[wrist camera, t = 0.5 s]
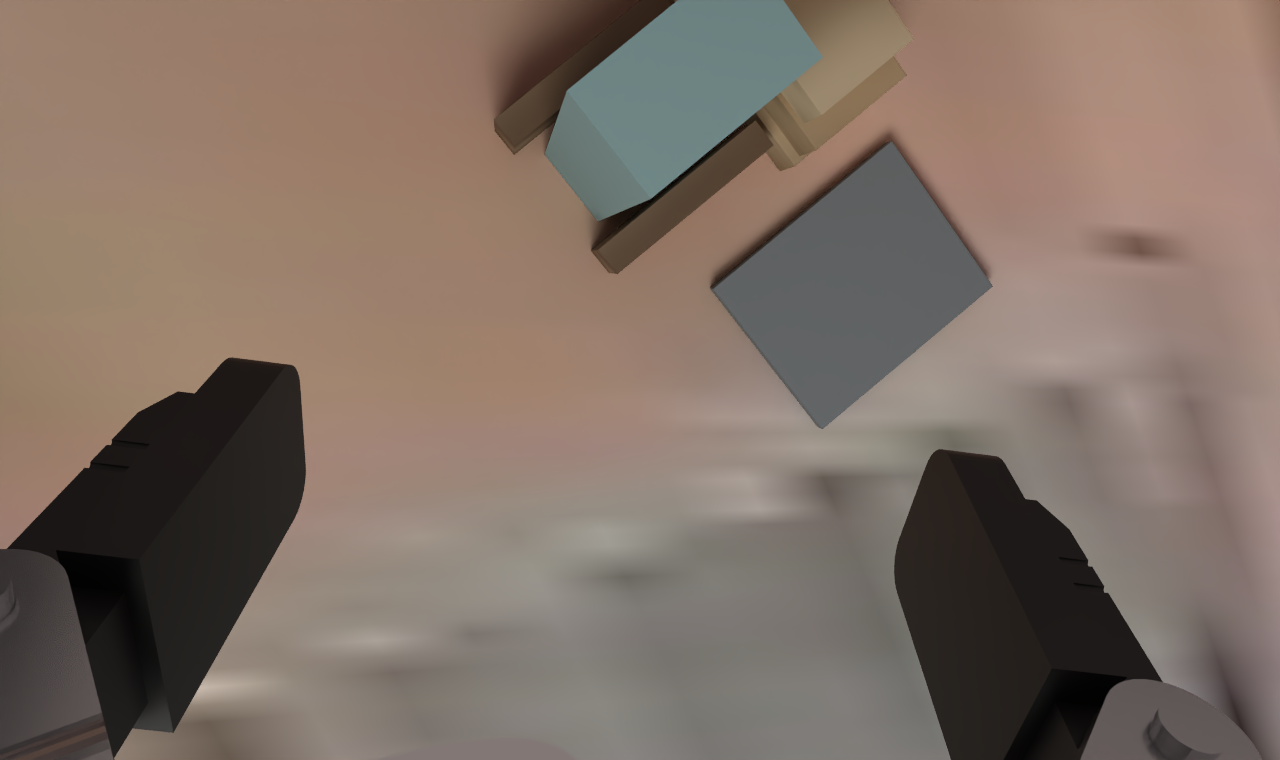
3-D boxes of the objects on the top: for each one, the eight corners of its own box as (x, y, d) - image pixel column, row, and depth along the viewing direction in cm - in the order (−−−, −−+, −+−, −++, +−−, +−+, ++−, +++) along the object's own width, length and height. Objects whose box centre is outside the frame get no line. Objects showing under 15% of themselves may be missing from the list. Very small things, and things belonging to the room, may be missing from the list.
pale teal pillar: (544, 154, 37) (566, 90, 23) (656, 63, 37) (745, -55, 23) (597, 221, 37) (650, 199, 24) (707, 131, 37) (823, 57, 24)
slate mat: (710, 288, 38) (713, 288, 38) (885, 142, 39) (891, 141, 38) (817, 426, 40) (822, 429, 39) (985, 285, 40) (992, 286, 40)
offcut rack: (474, 105, 36) (467, 74, 30) (729, -103, 36) (772, -173, 30) (628, 296, 38) (649, 303, 32) (868, 98, 38) (934, 68, 32)
